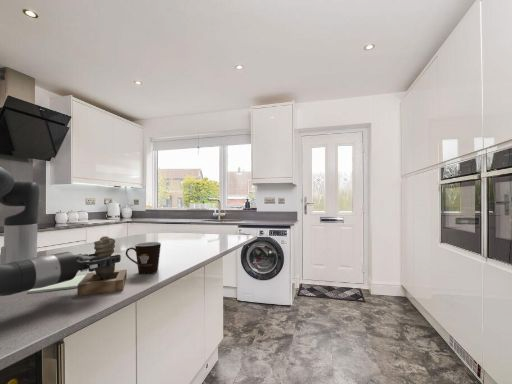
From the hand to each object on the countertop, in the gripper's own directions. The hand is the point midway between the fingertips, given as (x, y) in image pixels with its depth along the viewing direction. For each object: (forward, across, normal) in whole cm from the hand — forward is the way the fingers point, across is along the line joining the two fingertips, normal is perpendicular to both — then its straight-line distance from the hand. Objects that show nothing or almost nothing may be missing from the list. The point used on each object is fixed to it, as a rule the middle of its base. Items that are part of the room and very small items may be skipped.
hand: (110, 256), depth 80 cm
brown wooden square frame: (-2, 0, +8) cm, 9 cm away
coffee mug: (+15, +2, +9) cm, 18 cm away
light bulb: (-2, 0, +9) cm, 9 cm away
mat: (-6, +15, +8) cm, 18 cm away
